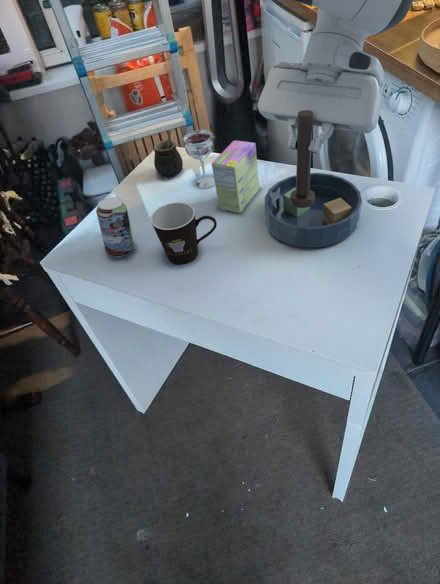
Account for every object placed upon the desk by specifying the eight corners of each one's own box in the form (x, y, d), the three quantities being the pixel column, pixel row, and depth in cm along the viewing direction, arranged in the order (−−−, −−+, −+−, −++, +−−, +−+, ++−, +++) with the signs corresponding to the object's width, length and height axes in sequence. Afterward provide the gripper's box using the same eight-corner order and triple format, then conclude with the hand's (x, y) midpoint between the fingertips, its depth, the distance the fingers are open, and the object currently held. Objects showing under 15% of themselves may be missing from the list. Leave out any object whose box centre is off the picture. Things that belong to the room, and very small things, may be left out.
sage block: (310, 208, 94) (310, 193, 91) (297, 217, 92) (297, 201, 89) (296, 201, 96) (296, 186, 93) (283, 210, 94) (283, 194, 92)
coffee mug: (155, 264, 89) (142, 226, 82) (174, 238, 94) (163, 199, 87) (206, 275, 85) (197, 235, 78) (223, 246, 90) (216, 207, 83)
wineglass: (187, 187, 107) (177, 142, 99) (201, 172, 111) (192, 128, 102) (210, 192, 104) (202, 146, 96) (224, 177, 108) (217, 131, 100)
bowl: (366, 200, 94) (369, 178, 90) (347, 257, 83) (350, 235, 79) (281, 189, 101) (280, 169, 97) (253, 241, 90) (251, 220, 86)
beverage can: (102, 257, 93) (82, 211, 84) (122, 236, 97) (105, 191, 88) (125, 264, 90) (106, 217, 82) (145, 242, 94) (129, 196, 86)
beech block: (350, 223, 88) (351, 207, 86) (333, 230, 88) (334, 213, 85) (339, 213, 91) (340, 197, 88) (322, 219, 90) (323, 203, 88)
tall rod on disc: (317, 197, 80) (322, 108, 69) (310, 209, 77) (315, 119, 66) (294, 194, 81) (296, 107, 71) (286, 206, 78) (287, 117, 68)
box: (238, 185, 105) (233, 139, 96) (260, 189, 103) (256, 142, 94) (218, 209, 99) (210, 163, 91) (240, 214, 97) (234, 167, 88)
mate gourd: (153, 181, 111) (143, 145, 104) (162, 165, 116) (153, 130, 109) (179, 181, 110) (171, 145, 102) (187, 165, 115) (180, 129, 107)
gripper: (265, 52, 72) (241, 134, 74) (389, 60, 63) (357, 154, 65) (279, 70, 78) (256, 146, 80) (394, 80, 68) (365, 166, 70)
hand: (302, 150), depth 72 cm, fingers closed on tall rod on disc, 2 cm apart
